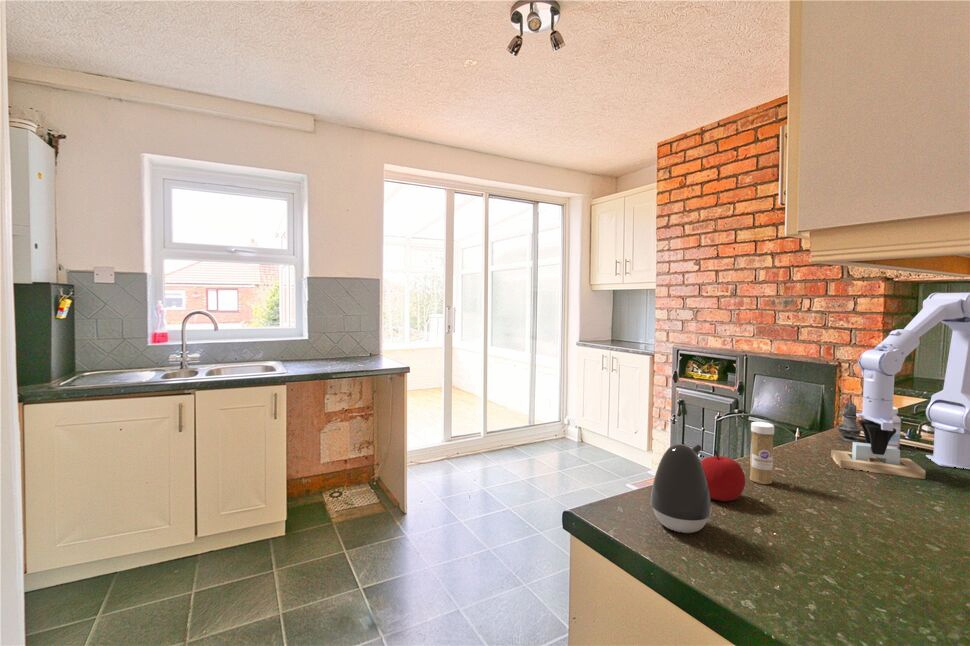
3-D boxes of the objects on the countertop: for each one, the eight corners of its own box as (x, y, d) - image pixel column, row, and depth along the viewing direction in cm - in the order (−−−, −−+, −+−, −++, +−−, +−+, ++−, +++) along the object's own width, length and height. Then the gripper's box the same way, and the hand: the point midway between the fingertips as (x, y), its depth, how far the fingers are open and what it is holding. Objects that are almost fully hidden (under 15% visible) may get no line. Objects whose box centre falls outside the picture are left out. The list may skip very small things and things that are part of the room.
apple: (721, 510, 89) (723, 460, 89) (685, 492, 98) (687, 446, 97) (754, 502, 93) (756, 454, 92) (717, 486, 101) (718, 442, 101)
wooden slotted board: (909, 466, 114) (909, 458, 114) (925, 479, 106) (925, 470, 105) (830, 456, 121) (831, 449, 120) (840, 468, 112) (840, 460, 112)
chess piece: (866, 442, 133) (868, 402, 132) (846, 442, 133) (848, 402, 133) (851, 436, 139) (852, 398, 138) (831, 436, 139) (833, 398, 138)
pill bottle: (867, 441, 135) (869, 404, 134) (892, 443, 133) (894, 405, 132) (878, 447, 129) (879, 408, 128) (904, 449, 127) (906, 410, 126)
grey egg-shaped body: (723, 531, 81) (726, 448, 80) (686, 546, 76) (688, 457, 75) (675, 508, 90) (676, 433, 89) (638, 520, 85) (640, 441, 84)
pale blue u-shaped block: (894, 468, 113) (895, 446, 112) (899, 472, 110) (900, 450, 110) (851, 462, 116) (852, 441, 116) (855, 466, 114) (856, 445, 113)
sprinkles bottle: (756, 485, 102) (758, 426, 101) (745, 477, 106) (747, 420, 106) (777, 485, 102) (779, 426, 101) (764, 477, 106) (766, 421, 106)
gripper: (849, 391, 120) (847, 441, 121) (867, 402, 107) (864, 458, 108) (883, 394, 117) (880, 445, 118) (905, 405, 104) (903, 463, 105)
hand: (875, 451), depth 113 cm, fingers closed on pale blue u-shaped block, 3 cm apart
